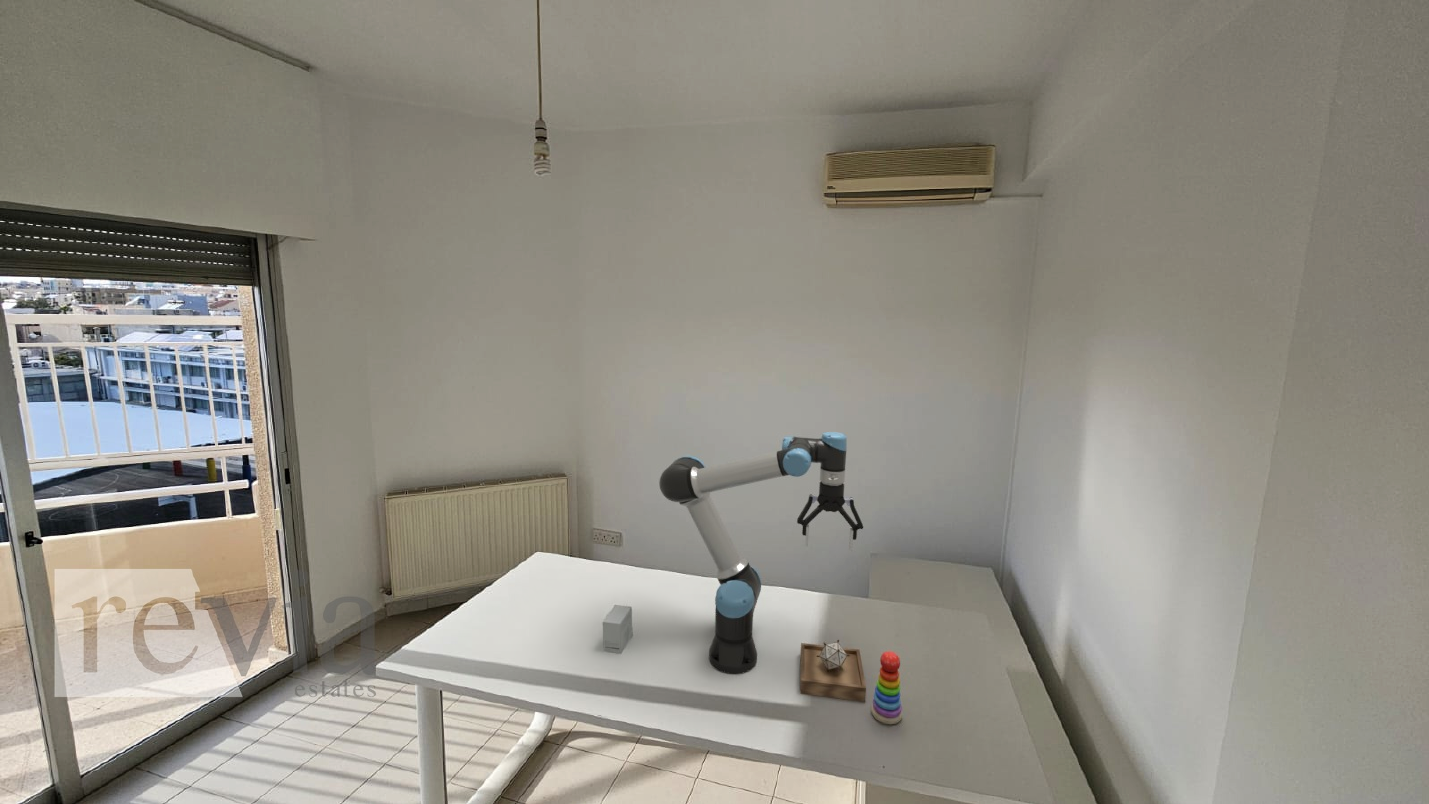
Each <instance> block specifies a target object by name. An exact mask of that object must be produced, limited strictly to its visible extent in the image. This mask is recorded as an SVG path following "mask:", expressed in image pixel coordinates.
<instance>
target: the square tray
mask: <svg viewBox="0 0 1429 804" xmlns="http://www.w3.org/2000/svg"><path fill="white" fill-rule="evenodd" d="M823 647H824V644H823V645H821V644H813V643H805V642H804V643H803V642H801V644H800V677H799V678H800V680H799V681H800V682H799V683H800V685H799V686H800V687H799V688H800V691H799V692H800V694H801V695H802V694H803V695H808V696H809V695H810V696H819V697H825V698H826V697H827V698H834V699H842V700H850V701H858V702H864V703H865V702H866V694H867V685H866V681H865V675H864V674H865V673H864V668H863V667H864V666H863V663H862V657H861V656H862V655H861V651H860V649H858V648H848V647H842V648H843V650H844V651H845V653H846V654H847V655H850V656H847V657H846V659H845V661H844V663H843V665H842V668H843V669H840V668H836V669H831V670H829V672H828V673H827V670H828V669H827V668H826V666H825V665H824V663H823V662H822V660H821V659H820V657H816V656H817V655H818V656H819V655H820V653H821V651H822V649H823Z"/></svg>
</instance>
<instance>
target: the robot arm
mask: <svg viewBox="0 0 1429 804" xmlns="http://www.w3.org/2000/svg"><path fill="white" fill-rule="evenodd" d="M846 460H847V437H846V435H845V434H844V433H842V432H837V431H827V432H823V433H822V434H821V438H814V437H813V438H812V437H811V438H810V437H801V436H800V437H799V436H785V437H784V438H783V439H782V443H781V450H777V451H772V452H768V453H767V452H766V453H763V454H759V455H754V456H750V457H746V458H742V459H737V460H733V461H729V462H728V461H727V462H724V463H719V464H715V465H714V464H713V465H711V466H706V465H705V463H704V462H703V461H702V460H701V459H700V458H698V457H696V456H693V455H684V456H681V457H679V458H677V459H675V460H673V462H672V463H671V464H670V465H669V466H668V467H666V469H664V470H663V472H662V473H661V475H660V477H659V489H660V491H661V494H662V495H663V496H664V497H665V499H667V500H668V501H671V502H673V503H679V505H681V506H683V507H686V508H687V511H688V513H689V515H690V517H691V518H692V521H693V522H694V524H695V527H696V529H697V531H698V533H699V534H700V536H701V539H702V540H703V543H704V544H705V546H706V548H707V551H708V552H709V555H710V557H711V558H712V560H713V563H714V564H715V566H716V568H717V574H716V579H717V580H718V583H719V586H718V588H717V590H716V592H715V596H714V597H715V599H714V603H715V604H714V605H715V616H714V618H715V619H714V620H715V622H714V623H715V625H714V637H713V638H712V642H711V645H710V647H709V650H708V660H709V663H710V665H711V666H712V667H713V668H714V669H716V670H717V671H719V672H721V673H724V674H730V675H738V674H739V675H740V674H744V673H746V672H749V671H751V670H752V669H754V668H755V667H756V665H757V662H758V651H757V647H756V645H755V641H754V637H753V629H754V628H753V623H754V612H755V608H756V605H757V602H758V598H759V596H760V593H761V590H762V578H761V575H760V573H759V572H758V570H757V569H756V568H755V567H754V566H751V565H750V563H749V561H748V559H746V558H744V557H743V558H742V557H741V555H740V553H739V551H738V549H737V547H736V544H735V543H734V541H733V539H732V537H731V535H730V533H729V531H728V529H727V527H726V524H725V523H724V520H723V519H722V516H721V515H720V513H719V511H718V509H717V507H716V505H715V502H714V501H713V499H712V496H711V495H710V494H711V493H713V492H716V491H717V492H718V491H722V490H726V489H732V488H735V487H740V486H744V485H749V484H750V485H751V484H753V483H758V482H764V481H767V480H773V479H776V478H783V477H786V476H791V477H794V478H795V477H798V478H799V477H802V476H804V475H805V474H806V473H807V472H808V471H809V470H810V468H811V465H812V463H813V464H815V463H816V464H818V463H819V464H820V467H819V481H820V482H819V487H818V489H819V490H818V491H819V492H818V496H816V495H813V494H809V495H808V499H807V502H806V504H805V505H804V507H803V509H802V511H801V512H800V514H799V516H798V517H797V519H796V523H797V524H798V525H801V526H802V529H801V530H802V532H801V533H802V536H805V547H806V548H808V547H809V534H810V533H809V532H810V531H809V530H810V529H809V528H810V526H809V525H810V523H811V521H813V520H814V519H815V518H816V517H817V516H818V515H819V514H821V513H822V512H823V511H824V512H832V513H836V512H838V513H839V514H840V515H841V516H842V517H843V518H844V520H845V521H846V522H847V523H848V524H849V526H850V527H849V541H848V549H849V551H850V552H851V551H853V544H854V543H853V540H855V541H856V540H857V535H858V530H863V529H864V525H863V522H862V520H861V517H860V516H859V513H858V511H857V508H856V506H855V501H854V497H852V496H850V497H849V498H845V495H844V494H845V478H846V476H845V475H846ZM816 501H817V503H818V505H817V506H816V507H815V509H813V510H812V512H810V514H808V512H809V510H810V509H811V507H812V504H814V503H816ZM845 504H846V505H847V506H848V507H849V508H850V510H851V512H852V514H853V517H854V519H855V520H853V519H852V518H851V516H850V515H849V514H848V513H847V512H846V510H845V509H844V507H843V506H844V505H845ZM807 514H808V516H806V515H807ZM855 521H856V523H855Z"/></svg>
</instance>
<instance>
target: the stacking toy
mask: <svg viewBox="0 0 1429 804" xmlns="http://www.w3.org/2000/svg"><path fill="white" fill-rule="evenodd" d="M879 661H880V666H881V667H880V668H879V674H878V678H877V681H876V685H875V688H874V693H873V700H872V704H871V706H870V710H871V714H872V716H873V717H874V719H876V720H877V721H878V722H880V723H882V724H885V725H894V724H895V725H896V724H898V723H899V722H900V721H901V720H902V716H903V714H902V709H903V706H902V703H901V685H900V684H901V679H900V671H899V669H900V666H901V660H900V657H899V656H898V654H897V653H895V652H894V651H890V650H888V651H885V652H883V653H882V654H881V656H880V660H879Z"/></svg>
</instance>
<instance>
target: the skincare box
mask: <svg viewBox="0 0 1429 804" xmlns="http://www.w3.org/2000/svg"><path fill="white" fill-rule="evenodd" d="M632 611H633V607H632V606H627V605H618V604H615V605H614V606H613V607H612V608H611V610H610V611H609V612H608V614H607V615H606V617H605V618H604V619H602V639H603V642H602V644H603V652H607V653H615V654H620V655H621V654H622V653H623V652H624V650H625V649H626V647H627V646H628V644H629V642H630V640H631V639H632V637H633V633H634V632H633V612H632Z"/></svg>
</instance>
